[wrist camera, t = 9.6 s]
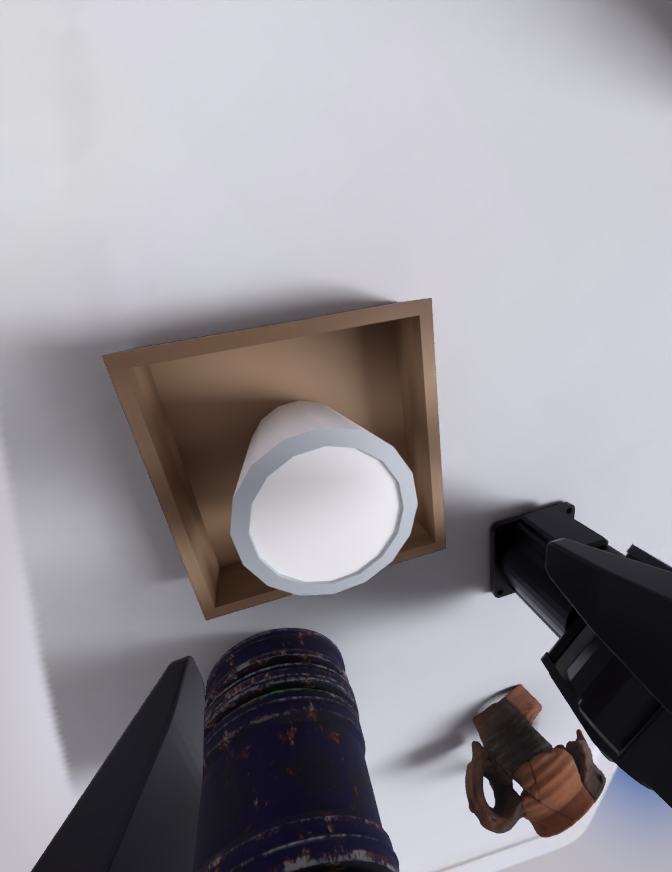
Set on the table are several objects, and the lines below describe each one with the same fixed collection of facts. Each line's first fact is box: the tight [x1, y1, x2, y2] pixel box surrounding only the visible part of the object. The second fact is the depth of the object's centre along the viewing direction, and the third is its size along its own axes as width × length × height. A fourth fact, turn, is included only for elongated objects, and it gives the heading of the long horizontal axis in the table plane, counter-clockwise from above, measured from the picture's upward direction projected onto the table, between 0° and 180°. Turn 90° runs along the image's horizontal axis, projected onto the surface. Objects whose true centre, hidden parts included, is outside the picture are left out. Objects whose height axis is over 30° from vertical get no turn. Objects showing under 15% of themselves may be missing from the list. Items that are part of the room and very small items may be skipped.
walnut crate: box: [102, 298, 446, 620], centre depth 18 cm, size 13×13×4 cm
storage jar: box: [192, 628, 399, 872], centre depth 17 cm, size 10×10×15 cm
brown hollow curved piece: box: [465, 684, 606, 837], centre depth 30 cm, size 12×10×8 cm
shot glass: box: [230, 400, 418, 596], centre depth 15 cm, size 7×7×7 cm
